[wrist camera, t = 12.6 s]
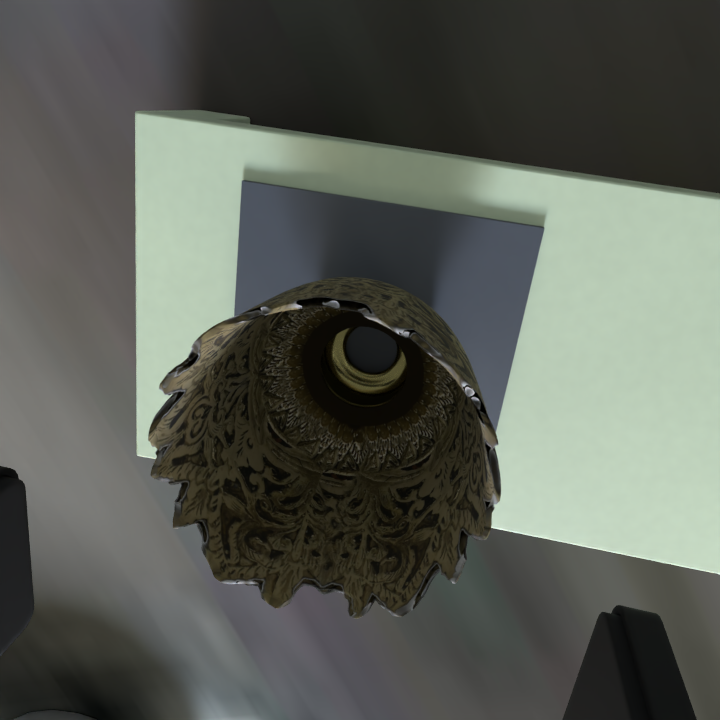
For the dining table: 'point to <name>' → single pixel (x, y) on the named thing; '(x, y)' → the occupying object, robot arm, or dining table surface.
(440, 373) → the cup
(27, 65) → the dining table surface
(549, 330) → the shelf
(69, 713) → the pie
